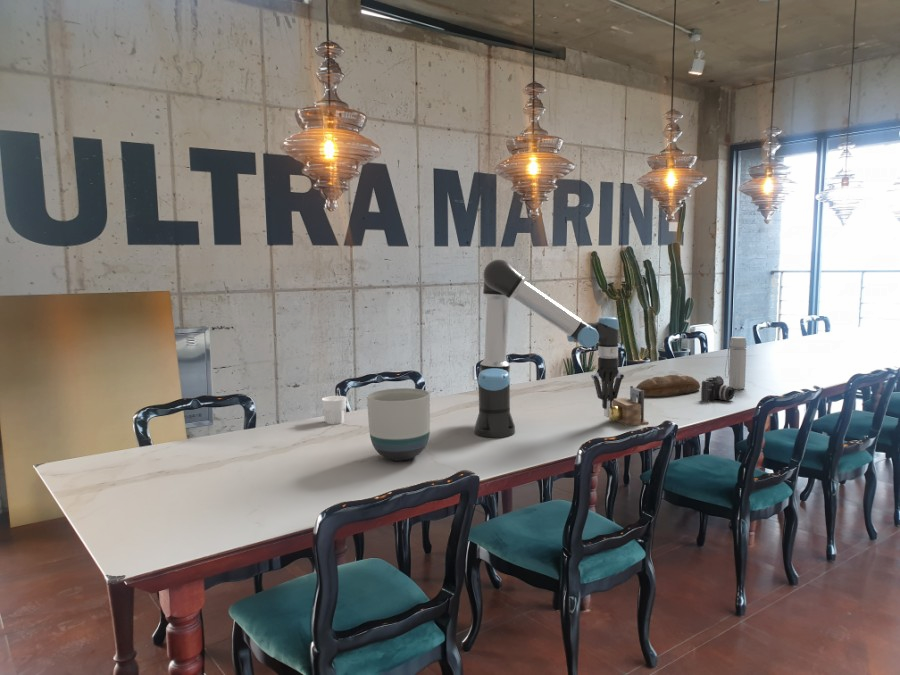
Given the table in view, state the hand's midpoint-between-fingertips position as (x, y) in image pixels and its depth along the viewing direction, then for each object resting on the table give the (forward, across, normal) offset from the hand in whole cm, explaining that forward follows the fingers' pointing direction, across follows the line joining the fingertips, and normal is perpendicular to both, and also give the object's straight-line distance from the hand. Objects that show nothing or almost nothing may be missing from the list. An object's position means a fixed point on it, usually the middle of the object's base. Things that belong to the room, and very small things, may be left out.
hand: (607, 416), depth 238 cm
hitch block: (+2, +10, 0) cm, 10 cm away
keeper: (-4, +13, 0) cm, 13 cm away
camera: (+2, +65, +23) cm, 69 cm away
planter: (+4, -84, -22) cm, 87 cm away
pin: (+2, +8, 0) cm, 8 cm away
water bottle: (+1, +87, +43) cm, 97 cm away
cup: (+4, -105, +33) cm, 110 cm away
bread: (+2, +52, +44) cm, 68 cm away
